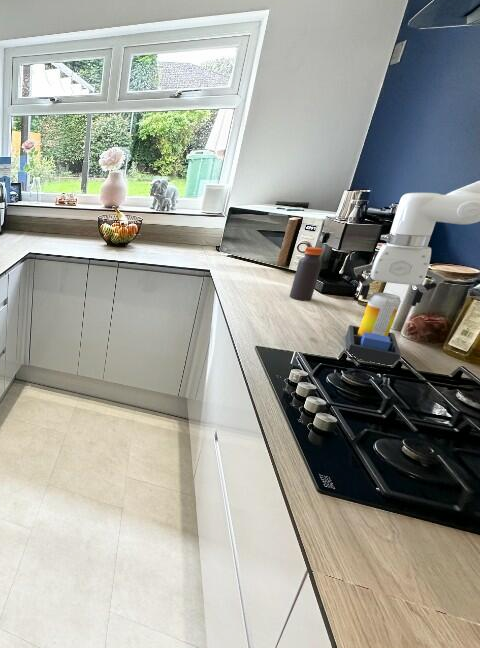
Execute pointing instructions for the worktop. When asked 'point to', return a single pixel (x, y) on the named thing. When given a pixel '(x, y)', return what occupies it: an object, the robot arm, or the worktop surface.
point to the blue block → (375, 341)
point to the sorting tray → (371, 353)
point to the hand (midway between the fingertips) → (387, 301)
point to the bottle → (307, 274)
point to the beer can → (379, 314)
